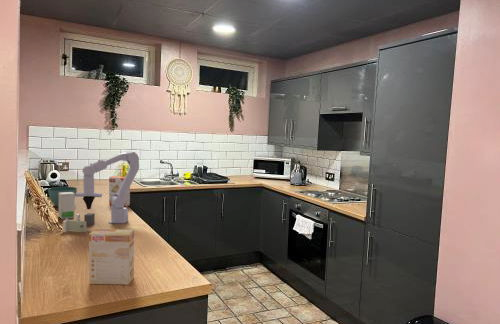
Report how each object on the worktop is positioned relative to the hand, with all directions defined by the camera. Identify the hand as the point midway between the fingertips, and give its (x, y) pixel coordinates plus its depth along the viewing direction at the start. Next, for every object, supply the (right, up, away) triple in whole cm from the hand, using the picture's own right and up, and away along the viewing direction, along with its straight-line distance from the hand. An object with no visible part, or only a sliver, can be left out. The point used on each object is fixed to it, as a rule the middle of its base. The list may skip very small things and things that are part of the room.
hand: (89, 209), depth 216 cm
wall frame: (-7, -10, -7) cm, 14 cm away
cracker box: (-1, -4, +54) cm, 54 cm away
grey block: (-1, -9, +2) cm, 10 cm away
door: (0, -10, -14) cm, 17 cm away
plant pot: (-39, -4, +46) cm, 60 cm away
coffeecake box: (+41, -18, -74) cm, 87 cm away
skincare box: (-21, -7, +15) cm, 27 cm away
